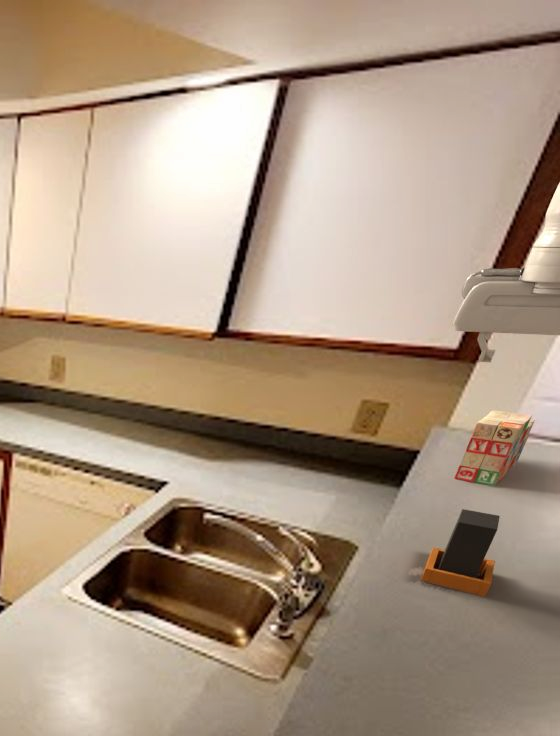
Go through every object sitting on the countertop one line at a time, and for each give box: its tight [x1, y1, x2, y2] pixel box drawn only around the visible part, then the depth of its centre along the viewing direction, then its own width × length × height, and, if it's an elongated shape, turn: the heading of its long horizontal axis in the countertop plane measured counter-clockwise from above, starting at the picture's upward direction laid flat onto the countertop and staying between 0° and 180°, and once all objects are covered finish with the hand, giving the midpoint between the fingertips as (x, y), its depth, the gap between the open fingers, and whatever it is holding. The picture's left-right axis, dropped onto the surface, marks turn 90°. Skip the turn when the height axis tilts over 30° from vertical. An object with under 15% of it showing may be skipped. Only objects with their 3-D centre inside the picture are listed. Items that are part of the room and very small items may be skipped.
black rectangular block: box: [437, 508, 501, 578], centre depth 91 cm, size 4×6×10 cm, turn 135°
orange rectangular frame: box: [420, 547, 496, 597], centre depth 93 cm, size 8×11×4 cm
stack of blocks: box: [454, 410, 536, 487], centre depth 131 cm, size 21×6×12 cm, turn 127°
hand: (526, 364), depth 96 cm, fingers open, 8 cm apart
